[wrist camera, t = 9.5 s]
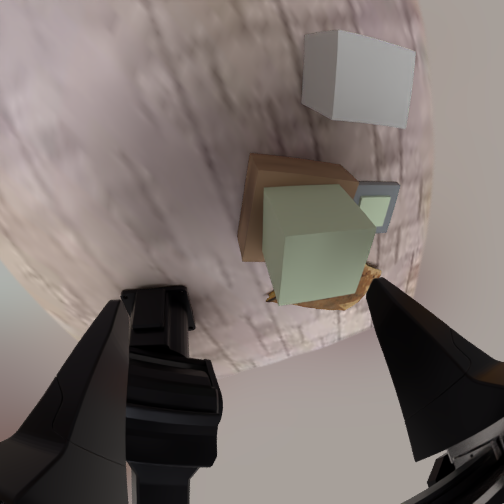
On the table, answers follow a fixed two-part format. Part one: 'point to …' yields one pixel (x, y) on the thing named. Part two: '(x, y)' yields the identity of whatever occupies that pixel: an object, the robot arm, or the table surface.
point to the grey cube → (357, 78)
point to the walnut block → (277, 175)
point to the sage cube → (314, 242)
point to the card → (377, 202)
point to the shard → (340, 301)
